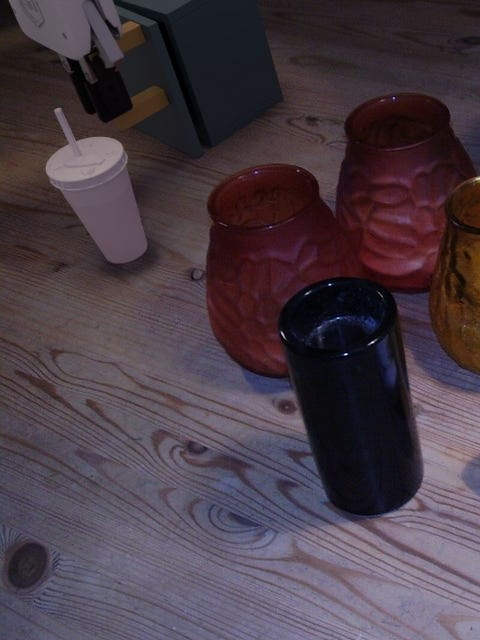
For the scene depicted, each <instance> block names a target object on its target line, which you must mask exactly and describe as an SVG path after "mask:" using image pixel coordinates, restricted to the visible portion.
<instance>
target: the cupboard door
mask: <svg viewBox="0 0 480 640" xmlns="http://www.w3.org/2000/svg"><path fill="white" fill-rule="evenodd" d="M115 8H116V10H117V13H118V16H119V19H120V22H121V25H122V30H123V34H122V37H121V39H120V40H115V41H116V43H117V44H118V46H119V48H120V50H121V52H122V53H123V55H124V57H125V61H124V62H122V63H120V64H119V67H120V70H119V72H120V74H121V77H122V79H123V82H124V84H125V87H126V89H127V91H128V94H129V96H130V99H131V101H132V104H133V108H132V109H131V110H130V111H128V112H126V113H124V114H122V115H121V116H119V117H117V118H115V119H113V120H112V121H113V122H114V124H115V127H116V129H118V130H127V129H129V128H131V127H133V128H135V129H137V130H139V131H141V132H143V133H144V134H147V135H148V136H150V137H152V138H155V139H156V140H158V141H161V142H163V143H164V144H166V145H168V146H170V147H172V148H173V149H176V150H178V151H180V152H182V153H184V154H186V155H188V156H189V157H191V158H194V159H195V160H196V159H198V158H200V157H201V156H203V155H204V150H203V148H202V144H201V143H200V142H199V139H198V136H197V133H196V131H195V128H194V125H193V122H192V119H191V117H190V114H189V111H188V108H187V105H186V102H185V100H184V97H183V94H182V91H181V88H180V86H179V83H178V80H177V77H176V74H175V71H174V69H173V66H172V63H171V60H170V57H169V55H168V52H167V49H166V46H165V43H164V40H163V38H162V35H161V32H160V29H159V26H158V24H157V22H155V21H153V20H151V19H148V18H146V17H143V16H141V15H138V14H136V13H134V12H131V11H129V10H126V9H124V8H121V7H119V6H116V5H115ZM98 54H100V52H99V51H97V52H95V53H93V54H91V55H89V58H90V61H92V57H94V56H96V55H98Z"/></svg>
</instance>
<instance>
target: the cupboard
mask: <svg viewBox="0 0 480 640" xmlns="http://www.w3.org/2000/svg"><path fill="white" fill-rule="evenodd" d="M113 3H114V5H116V6H119V7H121V8H124V9H126V10H129V11H131V12H134V13H136V14H138V15H141V16H143V17H146V18H148V19H151V20H153V21H155V22H157V24H158V26H159V29H160V32H161V35H162V38H163V40H164V43H165V46H166V49H167V52H168V55H169V57H170V60H171V63H172V66H173V69H174V71H175V74H176V77H177V80H178V83H179V86H180V88H181V91H182V94H183V97H184V100H185V102H186V105H187V108H188V111H189V114H190V117H191V119H192V122H193V125H194V128H195V131H196V133H197V136H198V139H199V142H200V145H203V146H206V147H208V148H211V149H215V148H216V147H217V146H218V145H220V144H222V143H223V142H225V141H226V140H227V139H230V137H232V136H233V135H234V134H236V133H237V132H239V131H240V130H242V129H243V128H245V127H246V126H248V125H249V124H250V123H252V122H254V121H255V120H256V119H258V118H259V117H261V116H262V115H263V114H265V113H266V112H268V111H269V110H271V109H272V108H274V107H275V106H276V105H278V104H279V103H281V102H283V101H284V98H285V97H284V94H283V91H282V88H281V84H280V81H279V77H278V74H277V73H278V72H277V70H276V66H275V62H274V58H273V55H272V51H271V48H270V45H269V40H268V37H267V34H266V29H265V26H264V22H263V19H262V15H261V11H260V7H259V4H258V1H257V0H113Z"/></svg>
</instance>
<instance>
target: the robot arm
mask: <svg viewBox="0 0 480 640" xmlns="http://www.w3.org/2000/svg"><path fill="white" fill-rule="evenodd" d="M8 2H9V5H10V7H11V9H12V11H13V14H14V16H15V19H16V21H17V23H18V25H19V28H20V29H21V30H22V32H23V33H24V35H26V36H27V37H28V38H30V39H31V40H32V41H35V42H36V43H38V44H40V45H42V46H44V47H46V48H48V49H49V50H51V51H53V52H55V53H57V55H58V57H59V59H60V61H61V64H62V66H63V68H64V69H65V70H66V71H67V73H69V74H68V76H69V79H70V81H71V83H72V85H73V87H74V90H75V92H76V95H77V96H78V99H79V101H80V103H81V106H82V108H83V110H84V112H85V113H86V114H88V115H90V116H91V115H95V114H96V115H97V117H98V119H99V121H101V122H102V123H104V124H108V123H109V122H112V121H114V120H113V119H115V118H117V117H119V116H121V115H122V114H124V113H126V112H128V111H130V110H131V109H132V108H133V104H132V101H131V99H130V96H129V94H128V91H127V89H126V87H125V84H124V82H123V79H122V77H121V74H120V72H119V70H120V67H119V64H120V63H122V62H124V61H125V57H124V55H123V53H122V52H121V50H120V48H119V46H118V44H117V43H116V41H115V40H120V39H121V37H122V34H123V30H122V25H121V22H120V19H119V16H118V13H117V10H116V8H115V5H114V3H113V0H8ZM97 51H99V52H100V54H98V55H96V56H94V57H92V61H90V58H89V55H91V54H93V53H95V52H97Z"/></svg>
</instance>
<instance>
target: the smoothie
mask: <svg viewBox="0 0 480 640" xmlns="http://www.w3.org/2000/svg"><path fill="white" fill-rule="evenodd" d="M53 112H54V114H55V117H56V118H57V121H58V123H59V125H60V127H61V129H62V131H63V134H64V136H65V138H66V141H67V142H68V144H67V145H64V146H63V147H61V148H60V149H58V150H56V151H55V152H54V153H53V154H52V155H51V156H50V157H49V159H48V160H47V161H46V164H45V173H46V175H47V176H48V177H47V178H48V179H49V182H50V184H51V185H52V186H53V187H54V188H56V189H59V190H60V192H61V194H62V195H63V197H64V199H65V200H66V202H68V205H70V207H71V209H72V210H73V211H74V213H75V214H76V216H77V218H78V219H79V221H80V222H81V223H82V225H83V227H84V228H85V229H86V231H87V232H88V234H89V235H90V237H91V238H92V240H93V241H94V243H95V245H96V246H97V247H98V249H99V250H100V252H101V253H102V254H103V257H104V258H105V259H106V261H108V262H110V263H112V264H125V263H129V262H132V261H135V260H136V259H139V258H140V257H141V256H143V254H145V252H146V251H147V249H148V241H147V236H146V234H145V230H144V226H143V223H142V219H141V215H140V211H139V208H138V204H137V200H136V196H135V193H134V190H133V186H132V182H131V178H130V174H129V171H128V168H127V164H128V159H129V155H128V154H127V151H126V150H125V149H124V146H123V144H122V143H121V142H120V141H119V140H117V139H115V138H112V137H107V136H93V137H86V138H82V139H79V140H76V138H75V136H74V133H73V132H72V129H71V127H70V125H69V123H68V121H67V118H66V116H65V114H64V112H63V110H62V108H61V107H57V108H55V109H54V110H53Z"/></svg>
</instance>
